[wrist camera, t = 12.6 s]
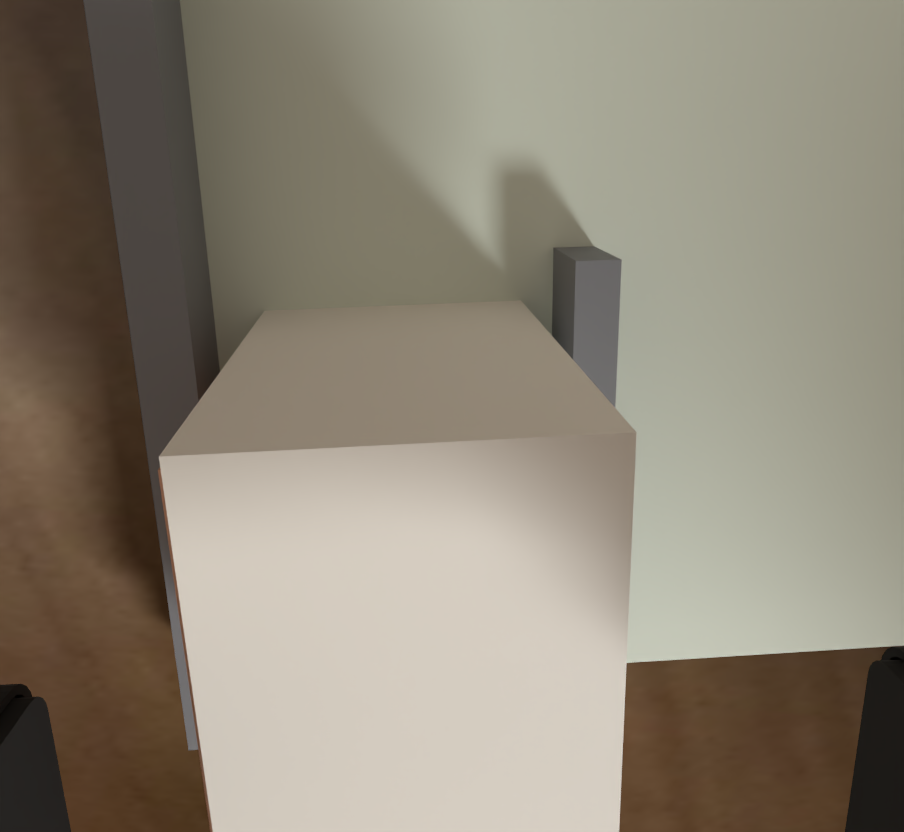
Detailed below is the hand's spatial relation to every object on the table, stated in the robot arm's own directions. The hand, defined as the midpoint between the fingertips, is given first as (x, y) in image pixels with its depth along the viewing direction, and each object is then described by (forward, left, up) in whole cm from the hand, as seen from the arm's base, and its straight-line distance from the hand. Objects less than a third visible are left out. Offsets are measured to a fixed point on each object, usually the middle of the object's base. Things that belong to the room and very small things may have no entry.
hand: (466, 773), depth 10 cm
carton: (0, +1, -9) cm, 9 cm away
